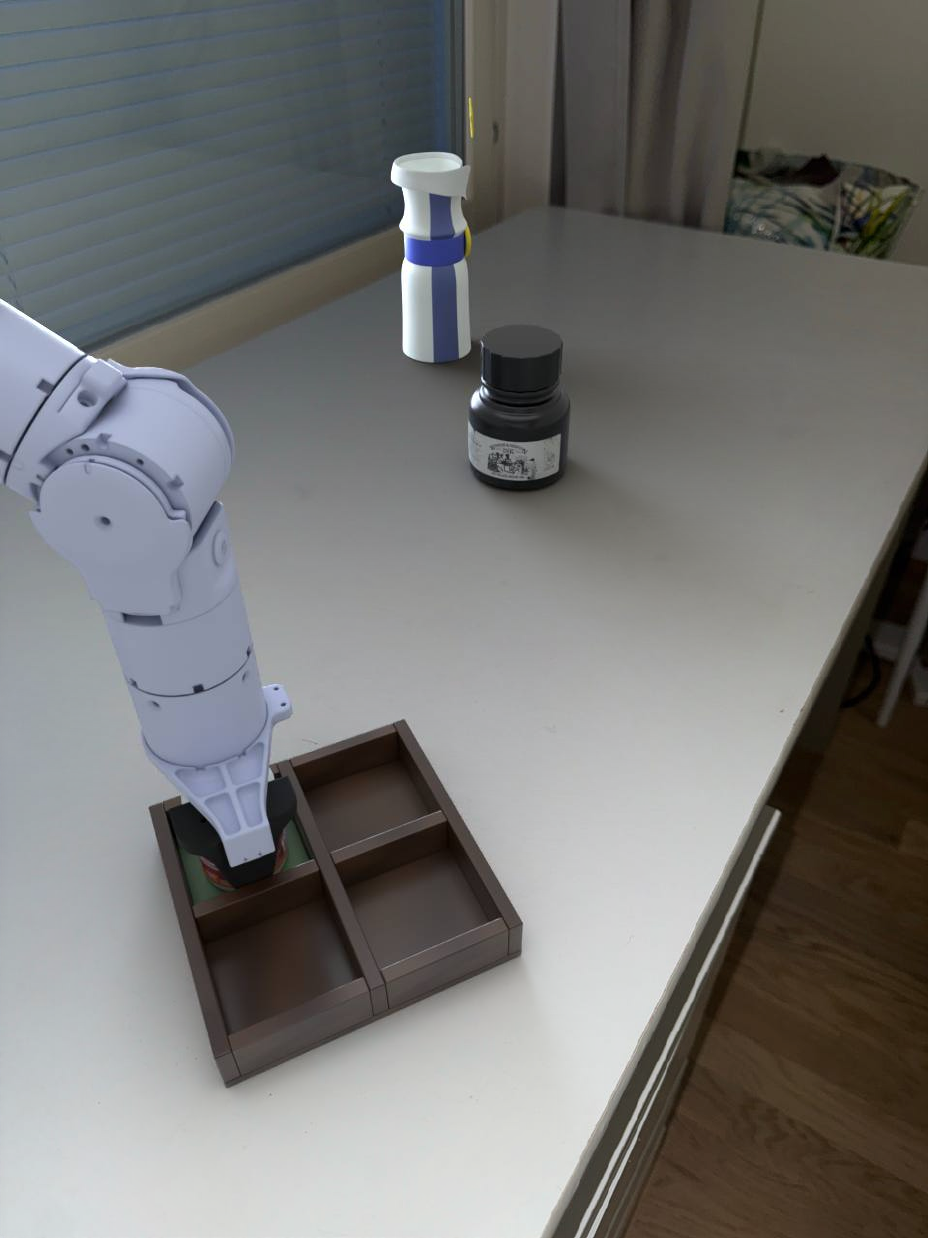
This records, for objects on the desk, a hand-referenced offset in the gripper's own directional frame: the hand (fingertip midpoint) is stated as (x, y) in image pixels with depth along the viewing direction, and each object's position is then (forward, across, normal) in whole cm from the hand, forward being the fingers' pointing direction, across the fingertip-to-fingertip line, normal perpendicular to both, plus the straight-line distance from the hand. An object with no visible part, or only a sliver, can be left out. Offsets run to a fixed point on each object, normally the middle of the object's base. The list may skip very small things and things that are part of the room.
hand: (238, 837), depth 50 cm
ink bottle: (+3, +31, -34) cm, 46 cm away
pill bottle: (+2, 0, 0) cm, 2 cm away
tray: (+3, -4, -4) cm, 6 cm away
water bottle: (+3, +58, -38) cm, 69 cm away
